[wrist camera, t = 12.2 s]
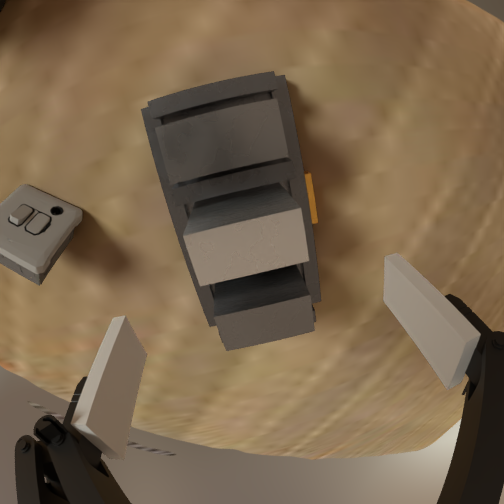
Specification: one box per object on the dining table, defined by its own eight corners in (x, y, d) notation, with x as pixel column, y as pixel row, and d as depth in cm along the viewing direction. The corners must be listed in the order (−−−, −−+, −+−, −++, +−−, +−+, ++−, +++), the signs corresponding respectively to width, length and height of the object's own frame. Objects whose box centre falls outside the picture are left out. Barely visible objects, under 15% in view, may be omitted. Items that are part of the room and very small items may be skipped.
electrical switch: (86, 209, 27) (41, 253, 19) (79, 248, 29) (40, 297, 21) (24, 181, 25) (-27, 214, 17) (21, 219, 27) (-25, 258, 19)
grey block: (195, 200, 27) (182, 236, 19) (277, 181, 27) (301, 207, 19) (206, 238, 29) (200, 286, 21) (285, 220, 29) (309, 260, 21)
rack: (145, 109, 24) (112, 105, 16) (287, 76, 24) (314, 58, 16) (210, 318, 34) (208, 373, 26) (322, 292, 34) (347, 341, 26)
